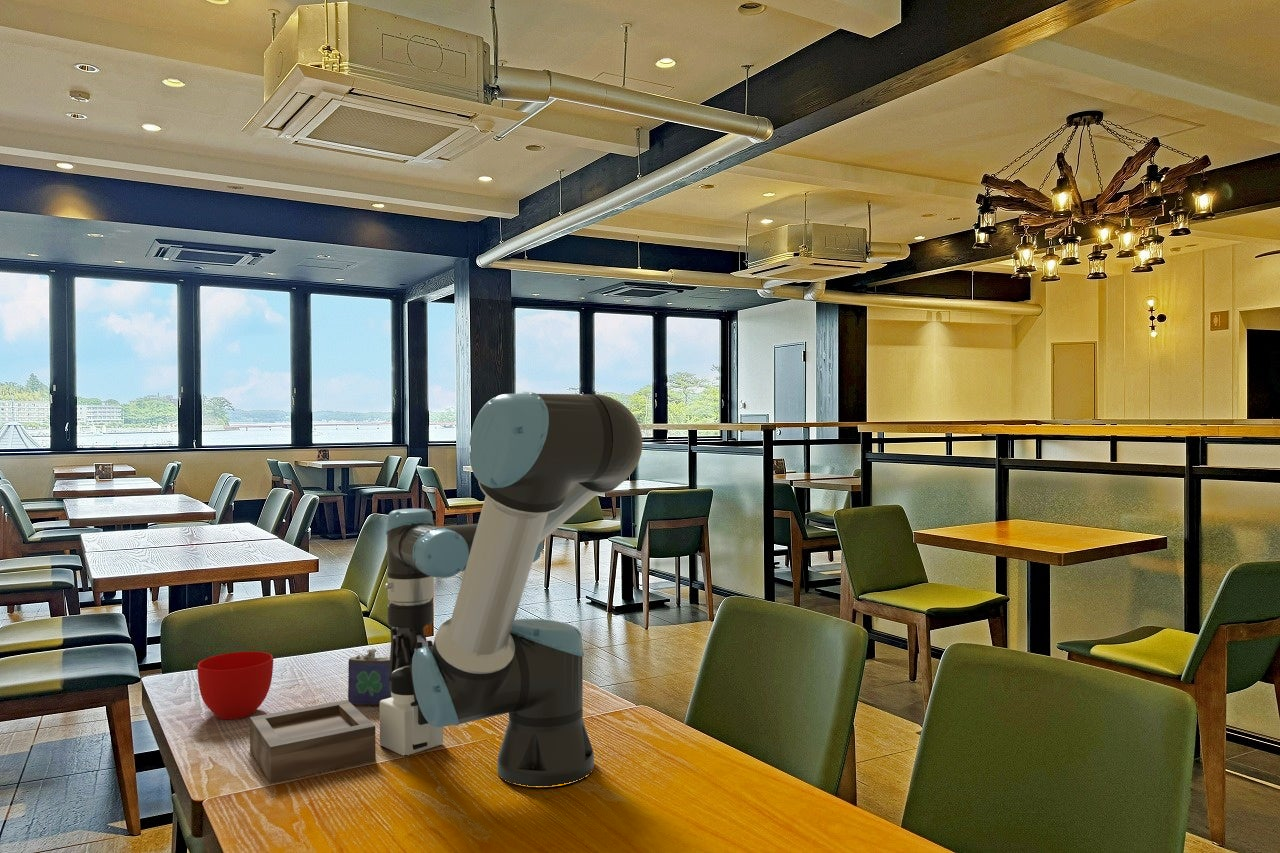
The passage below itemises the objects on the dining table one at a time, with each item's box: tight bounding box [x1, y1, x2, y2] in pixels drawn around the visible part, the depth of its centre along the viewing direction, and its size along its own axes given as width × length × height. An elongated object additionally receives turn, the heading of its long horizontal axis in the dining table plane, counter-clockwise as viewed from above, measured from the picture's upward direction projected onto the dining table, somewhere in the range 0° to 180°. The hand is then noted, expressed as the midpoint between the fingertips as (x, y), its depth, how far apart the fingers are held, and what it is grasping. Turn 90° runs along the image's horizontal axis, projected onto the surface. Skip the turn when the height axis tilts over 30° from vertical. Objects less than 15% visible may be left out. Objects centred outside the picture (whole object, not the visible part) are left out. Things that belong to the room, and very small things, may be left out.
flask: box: [347, 648, 391, 708], centre depth 170 cm, size 9×3×11 cm, turn 88°
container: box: [379, 666, 444, 757], centre depth 149 cm, size 8×8×13 cm
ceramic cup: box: [196, 650, 274, 720], centre depth 166 cm, size 13×17×10 cm
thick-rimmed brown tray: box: [249, 699, 377, 784], centre depth 145 cm, size 16×16×6 cm
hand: (411, 733), depth 149 cm, fingers closed on container, 9 cm apart
